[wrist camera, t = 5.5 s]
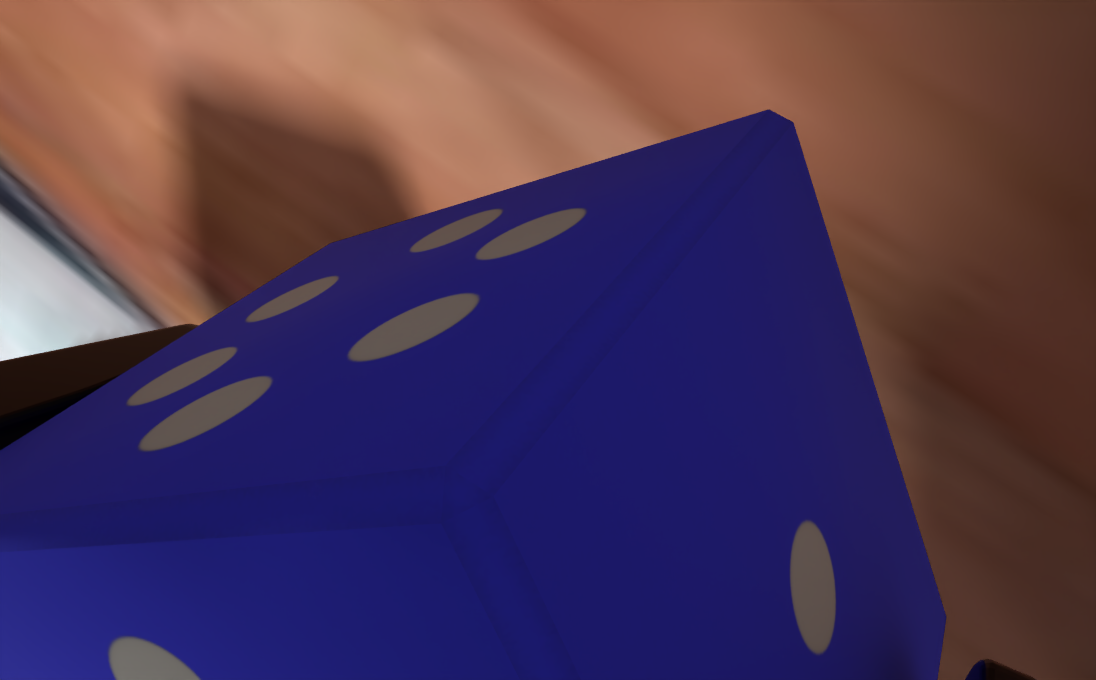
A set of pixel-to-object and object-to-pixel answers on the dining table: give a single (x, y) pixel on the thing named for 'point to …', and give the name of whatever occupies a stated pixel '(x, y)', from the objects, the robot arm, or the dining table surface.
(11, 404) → the robot arm
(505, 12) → the dining table surface
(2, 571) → the die
